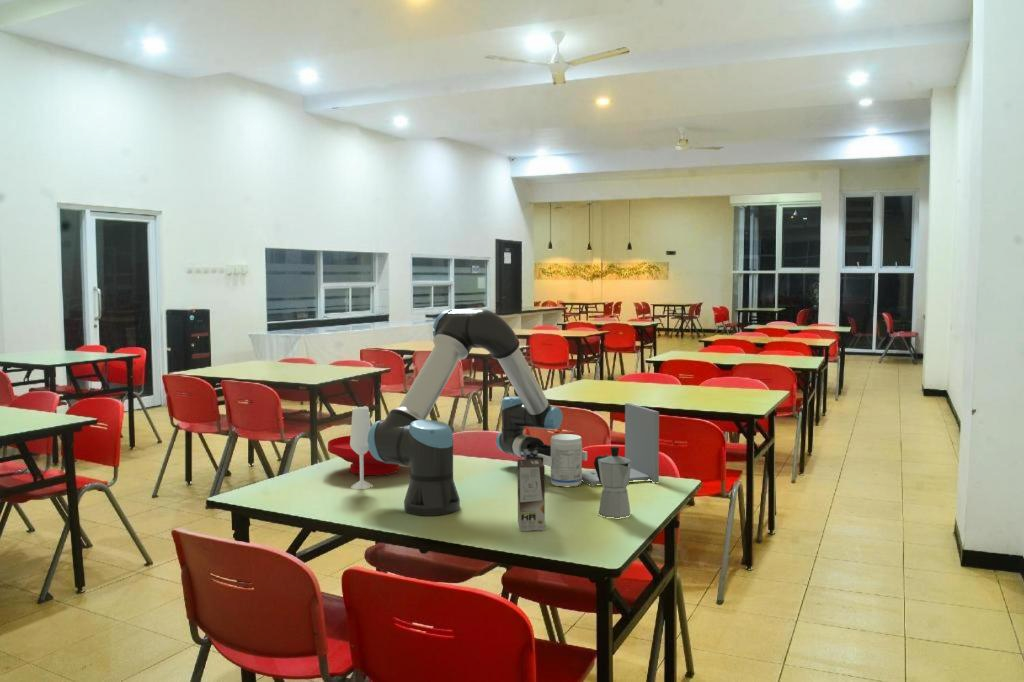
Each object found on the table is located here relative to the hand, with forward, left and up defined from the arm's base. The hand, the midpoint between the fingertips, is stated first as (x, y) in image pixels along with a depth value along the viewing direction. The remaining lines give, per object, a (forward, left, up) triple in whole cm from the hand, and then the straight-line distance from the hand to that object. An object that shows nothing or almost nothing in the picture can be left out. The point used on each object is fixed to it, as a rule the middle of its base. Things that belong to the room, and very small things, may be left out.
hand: (568, 459), depth 236 cm
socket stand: (+3, -16, -8) cm, 18 cm away
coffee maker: (-33, +1, -8) cm, 34 cm away
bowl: (+40, +53, -8) cm, 67 cm away
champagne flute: (+19, +60, -8) cm, 63 cm away
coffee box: (-36, +25, -8) cm, 45 cm away
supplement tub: (+1, +1, -8) cm, 8 cm away
